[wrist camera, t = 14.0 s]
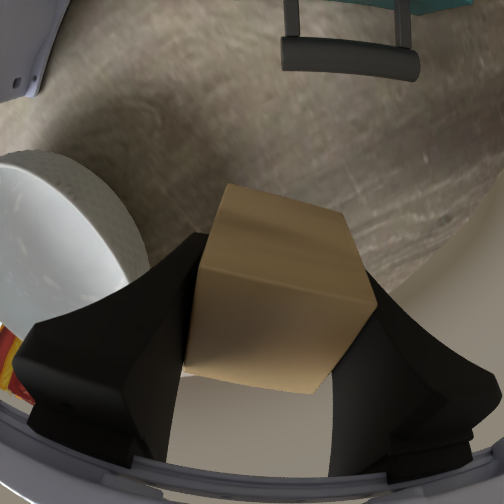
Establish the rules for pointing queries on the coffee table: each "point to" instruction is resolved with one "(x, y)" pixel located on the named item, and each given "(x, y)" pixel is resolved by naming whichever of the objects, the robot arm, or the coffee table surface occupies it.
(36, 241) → the cereal bowl
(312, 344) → the block
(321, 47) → the drawer
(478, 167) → the coffee table surface
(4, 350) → the book monster
